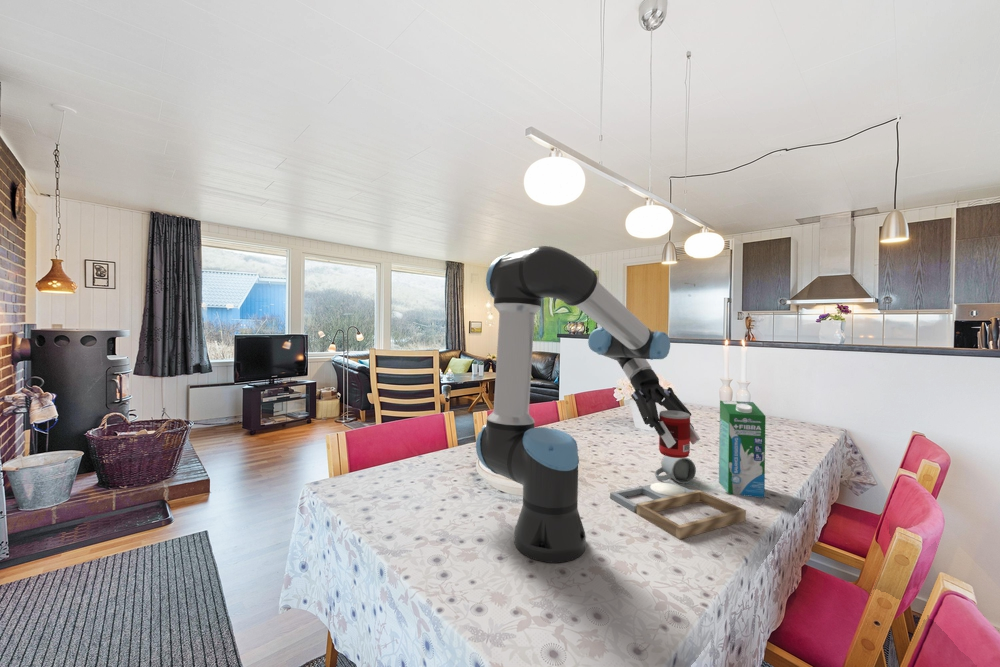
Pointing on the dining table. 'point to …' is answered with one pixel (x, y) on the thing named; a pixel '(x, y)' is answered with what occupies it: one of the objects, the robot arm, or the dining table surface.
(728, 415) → the milk carton
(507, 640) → the dining table surface
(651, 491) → the grey rectangular frame
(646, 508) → the oak pen
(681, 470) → the ceramic mug
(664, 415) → the canned food
